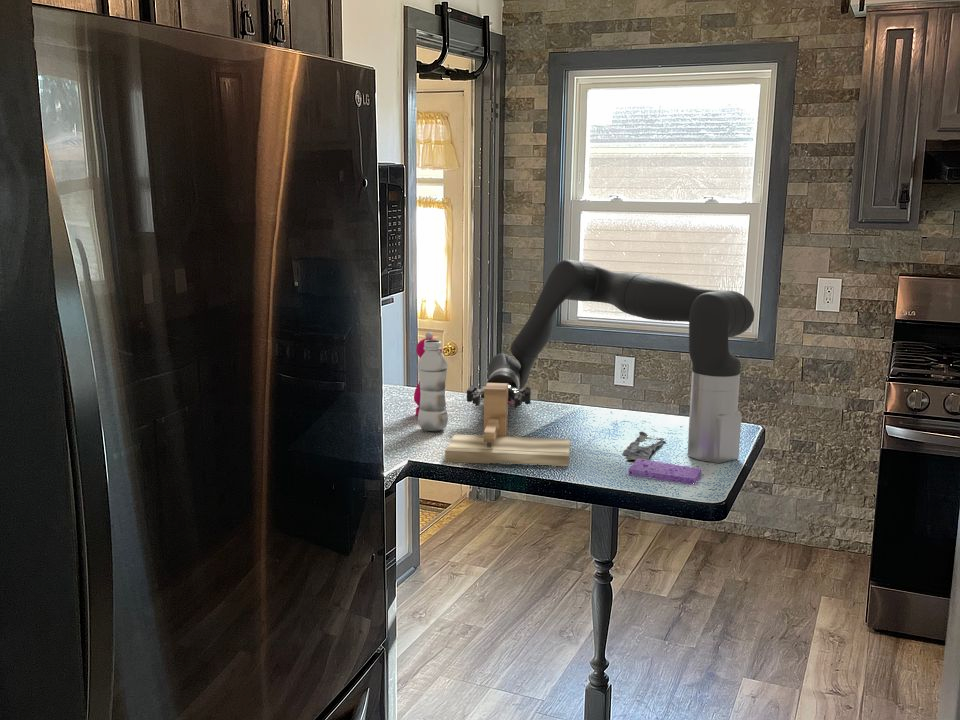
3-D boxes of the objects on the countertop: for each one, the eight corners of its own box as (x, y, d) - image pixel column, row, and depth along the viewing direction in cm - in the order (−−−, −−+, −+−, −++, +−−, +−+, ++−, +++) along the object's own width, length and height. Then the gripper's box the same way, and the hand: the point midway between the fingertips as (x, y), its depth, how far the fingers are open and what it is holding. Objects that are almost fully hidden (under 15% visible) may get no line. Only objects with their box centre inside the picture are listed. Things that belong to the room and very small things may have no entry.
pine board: (454, 444, 182) (454, 434, 182) (569, 449, 179) (570, 439, 179) (445, 461, 170) (445, 450, 170) (568, 467, 168) (569, 455, 167)
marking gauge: (486, 437, 188) (487, 382, 186) (507, 437, 188) (508, 383, 185) (477, 461, 170) (477, 401, 168) (500, 462, 170) (500, 402, 168)
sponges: (637, 467, 170) (637, 458, 169) (702, 476, 164) (703, 467, 164) (627, 477, 163) (627, 467, 163) (694, 487, 158) (695, 477, 158)
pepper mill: (443, 419, 203) (443, 334, 199) (412, 419, 203) (412, 334, 199) (445, 412, 210) (445, 329, 206) (415, 411, 210) (415, 329, 206)
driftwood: (646, 467, 170) (647, 456, 170) (613, 462, 173) (613, 452, 172) (670, 442, 189) (671, 432, 188) (639, 438, 191) (640, 429, 191)
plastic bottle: (441, 435, 189) (442, 344, 185) (413, 432, 191) (412, 342, 187) (452, 428, 195) (452, 339, 191) (424, 425, 197) (424, 338, 193)
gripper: (472, 369, 205) (463, 384, 189) (533, 371, 203) (529, 386, 187) (472, 400, 206) (463, 417, 190) (532, 402, 204) (528, 420, 189)
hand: (496, 402), depth 189 cm, fingers open, 8 cm apart
